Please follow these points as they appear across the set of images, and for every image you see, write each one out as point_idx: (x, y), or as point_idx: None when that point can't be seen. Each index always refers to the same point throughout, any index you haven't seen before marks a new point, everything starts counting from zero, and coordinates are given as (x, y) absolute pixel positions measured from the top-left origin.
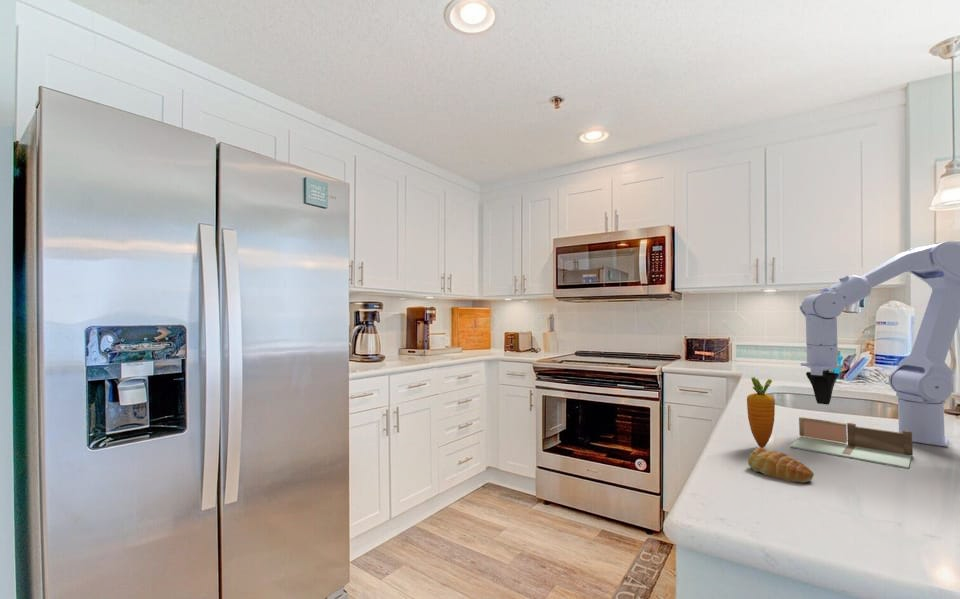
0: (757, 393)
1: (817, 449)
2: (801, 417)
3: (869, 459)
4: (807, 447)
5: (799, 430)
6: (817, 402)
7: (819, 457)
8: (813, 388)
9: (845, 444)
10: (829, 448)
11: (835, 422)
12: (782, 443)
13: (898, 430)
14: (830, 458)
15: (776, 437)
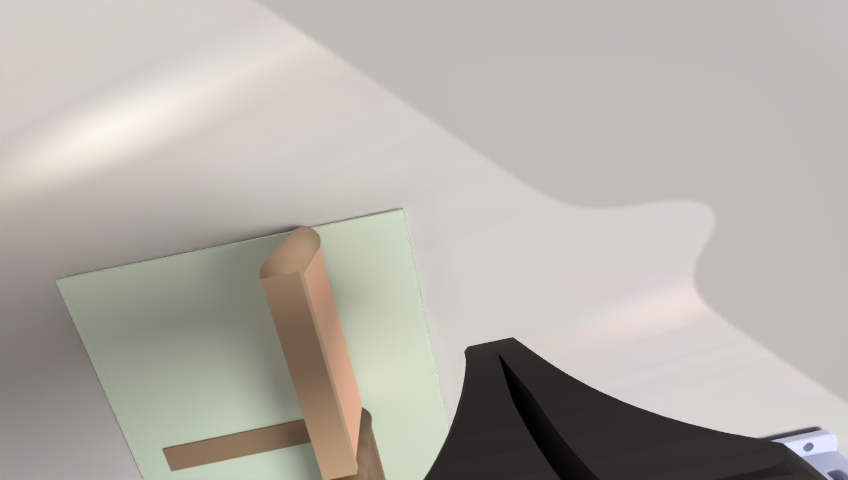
0: None
1: (122, 373)
2: (289, 266)
3: None
4: (109, 338)
5: (288, 236)
6: (465, 352)
7: (29, 412)
8: (454, 423)
9: None
10: (194, 393)
11: (328, 435)
12: (96, 223)
13: (816, 438)
14: (62, 439)
15: (192, 146)
